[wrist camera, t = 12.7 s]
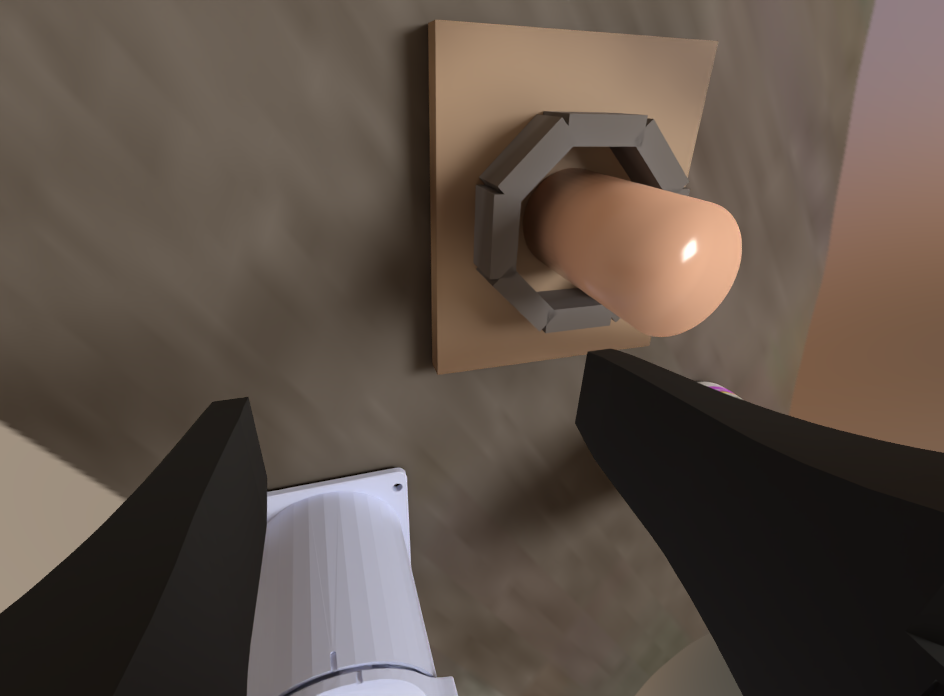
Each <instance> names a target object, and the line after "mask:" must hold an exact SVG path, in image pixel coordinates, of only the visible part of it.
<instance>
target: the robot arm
mask: <svg viewBox="0 0 944 696" xmlns="http://www.w3.org/2000/svg"><path fill="white" fill-rule="evenodd" d="M575 424H576V426H577V428H578V430H579V431H580V433H581V435H582V437H583V439H584V441H585V443H586V445H587V447H588V448H589V450H590V452H591V454H592V455H593V457H594V459H595V460H596V462H597V463H598V465H599V466H600V467H601V469H602V470H603V471H604V473H605V474H606V476H607V477H608V478H609V480H610V481H611V482H612V484H613V485H614V486H615V488H616V489H617V490H618V492H619V493H620V494H621V496H622V497H623V498H624V500H625V501H626V502H627V504H628V505H629V506H630V508H631V509H632V510H633V512H634V513H635V514H636V516H637V517H638V518H639V520H640V521H641V522H642V524H643V525H644V526H645V528H646V529H647V530H648V532H649V533H650V535H651V536H652V537H653V539H654V540H655V542H656V543H657V544H658V546H659V547H660V549H661V550H662V552H663V553H664V555H665V556H666V558H667V559H668V561H669V563H670V564H671V566H672V568H673V569H674V571H675V573H676V574H677V576H678V578H679V579H680V581H681V583H682V584H683V586H684V588H685V589H686V591H687V593H688V594H689V596H690V598H691V599H692V601H693V603H694V605H695V607H696V608H697V610H698V612H699V614H700V616H701V617H702V619H703V621H704V623H705V624H706V626H707V628H708V630H709V632H710V633H711V635H712V637H713V639H714V640H715V642H716V644H717V646H718V648H719V650H720V652H721V654H722V656H723V658H724V659H725V661H726V663H727V665H728V667H729V669H730V671H731V673H732V675H733V677H734V679H735V681H736V683H737V685H738V687H739V689H740V690H741V692H742V694H743V696H944V453H942V452H936V451H931V450H925V449H920V448H914V447H910V446H905V445H900V444H895V443H891V442H885V441H881V440H877V439H873V438H869V437H865V436H860V435H856V434H852V433H848V432H844V431H840V430H836V429H833V428H829V427H825V426H822V425H818V424H814V423H811V422H807V421H805V420H801V419H798V418H794V417H791V416H788V415H785V414H782V413H778V412H775V411H772V410H769V409H766V408H763V407H761V406H758V405H755V404H752V403H750V402H747V401H744V400H741V399H739V398H736V397H733V396H731V395H728V394H725V393H723V392H720V391H718V390H715V389H713V388H710V387H708V386H705V385H703V384H700V383H698V382H695V381H693V380H691V379H688V378H686V377H683V376H681V375H679V374H676V373H674V372H671V371H669V370H667V369H664V368H662V367H659V366H657V365H655V364H652V363H650V362H647V361H645V360H642V359H640V358H637V357H635V356H632V355H630V354H627V353H624V352H621V351H618V350H614V349H611V348H610V349H603V350H595V351H588V352H587V357H586V363H585V369H584V375H583V380H582V386H581V392H580V398H579V403H578V409H577V415H576V421H575ZM395 484H400V485H398V486H394V485H395ZM0 696H458V694H457V690H456V686H455V682H454V679H453V677H452V676H448V677H437V676H436V671H435V667H434V663H433V659H432V654H431V650H430V646H429V642H428V637H427V633H426V629H425V625H424V621H423V616H422V612H421V608H420V604H419V599H418V595H417V591H416V587H415V582H414V578H413V574H412V570H411V556H410V534H409V513H408V492H407V476H406V473H405V470H403V469H402V468H392V469H386V470H381V471H376V472H370V473H365V474H360V475H355V476H349V477H344V478H339V479H334V480H328V481H323V482H318V483H312V484H307V485H302V486H297V487H291V488H286V489H281V490H276V491H270V492H267V475H266V471H265V466H264V462H263V458H262V454H261V449H260V445H259V441H258V436H257V432H256V428H255V424H254V419H253V415H252V411H251V406H250V402H249V398H248V397H245V398H237V399H230V400H223V401H215V402H212V403H211V404H210V406H209V407H208V408H207V409H206V410H205V411H204V412H203V413H202V415H201V416H200V417H199V418H198V419H197V421H196V422H195V423H194V424H193V425H192V427H191V428H190V429H189V430H188V431H187V433H186V434H185V435H184V436H183V437H182V439H181V440H180V441H179V442H178V443H177V444H176V446H175V447H174V448H173V449H172V450H171V452H170V453H169V454H168V455H167V456H166V457H165V458H164V459H163V461H162V462H161V463H160V464H159V465H158V466H157V467H156V468H155V470H154V471H153V472H152V473H151V474H150V475H149V476H148V478H147V479H146V480H145V481H144V482H143V483H142V484H141V485H140V486H139V487H138V488H137V490H136V491H135V492H134V493H133V494H132V495H131V496H130V497H129V498H128V499H127V500H126V501H125V502H124V503H123V504H122V505H121V506H120V507H119V508H118V509H117V510H116V511H115V512H114V513H113V514H112V515H111V516H110V518H108V519H107V521H106V522H104V523H103V524H102V526H100V527H99V528H98V530H96V531H95V532H94V533H93V534H92V535H91V536H90V537H89V538H88V539H87V540H86V541H85V542H83V543H82V544H81V545H80V546H79V547H78V548H77V549H76V550H75V551H74V552H73V553H71V554H70V555H69V556H68V557H67V558H66V559H65V560H64V561H63V562H61V563H60V564H59V565H58V566H57V567H56V568H55V569H53V570H52V571H51V572H50V573H49V574H48V575H46V576H45V577H44V578H43V579H42V580H41V581H40V582H39V583H37V584H36V585H35V586H34V587H33V588H32V589H30V590H29V591H28V592H27V593H25V594H24V595H23V596H22V597H21V598H19V599H18V600H17V601H16V602H14V603H13V604H12V605H10V606H9V607H8V608H7V609H5V610H4V611H3V612H2V613H0Z"/></svg>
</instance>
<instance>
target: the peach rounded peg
mask: <svg viewBox="0 0 944 696" xmlns="http://www.w3.org/2000/svg"><path fill="white" fill-rule="evenodd" d="M523 232H524V238H525V241H526V244H527V246H528V248H529V250H530V251H531V253H532V254H533V255H534V256H535V257H536V258H537V259H538V260H539V261H541V262H542V263H544V264H545V265H546V266H548V267H549V268H551V269H552V270H554V271H555V272H556V273H558V274H559V275H561V276H562V277H563V278H565V279H566V280H568V281H569V282H570V283H572V284H573V285H575V286H576V287H578V288H579V289H580V290H582V291H583V292H585V293H586V294H587V295H589V296H590V297H592V298H593V299H594V300H596V301H597V302H599V303H600V304H602V305H603V306H604V307H606V308H607V309H609V310H610V311H611V312H613V313H614V314H616V315H617V316H618V317H620V318H621V319H623V320H624V321H626V322H627V323H628V324H630V325H631V326H633V327H634V328H635V329H637V330H638V331H640V332H642V333H644V334H646V335H650V336H654V337H668V336H673V335H677V334H680V333H683V332H685V331H687V330H689V329H691V328H693V327H695V326H696V325H698V324H699V323H701V322H702V321H703V320H705V319H706V318H707V317H708V316H709V315H710V314H711V313H712V312H713V311H714V310H715V309H716V308H717V307H718V306H719V305H720V303H721V302H722V301H723V299H724V298H725V296H726V295H727V293H728V292H729V290H730V288H731V286H732V285H733V282H734V280H735V278H736V275H737V272H738V269H739V265H740V261H741V254H742V240H741V234H740V230H739V227H738V225H737V223H736V221H735V219H734V218H733V216H732V215H731V214H730V213H729V212H728V211H727V210H726V209H724V208H723V207H721V206H719V205H717V204H714V203H711V202H707V201H703V200H700V199H696V198H692V197H688V196H685V195H681V194H677V193H673V192H670V191H666V190H662V189H658V188H654V187H651V186H647V185H643V184H639V183H636V182H632V181H628V180H624V179H620V178H617V177H613V176H609V175H605V174H602V173H598V172H594V171H590V170H587V169H582V168H567V169H563V170H560V171H558V172H556V173H554V174H552V175H550V176H549V177H548V178H546V179H545V180H544V181H543V182H542V183H541V184H540V185H539V186H538V187H537V188H536V189H535V191H534V192H533V194H532V195H531V197H530V199H529V201H528V204H527V206H526V209H525V213H524V219H523Z"/></svg>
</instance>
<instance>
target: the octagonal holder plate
mask: <svg viewBox="0 0 944 696" xmlns="http://www.w3.org/2000/svg"><path fill="white" fill-rule="evenodd" d="M717 45H718V41H709V40H696V39H683V38H670V37H656V36H643V35H630V34H617V33H604V32H591V31H578V30H565V29H552V28H538V27H525V26H512V25H499V24H486V23H473V22H460V21H447V20H434V21H432V22H430V23H428V51H429V133H430V214H431V296H432V364H433V366H434V368H435V370H436V372H437V374H438V375H440V374H447V373H454V372H462V371H469V370H476V369H483V368H491V367H498V366H505V365H512V364H519V363H527V362H534V361H541V360H548V359H556V358H563V357H570V356H577V355H585V354H587V352H588V351H595V350H603V349H610V348H611V349H614V350H621V349H628V348H635V347H642V346H649V345H650V340H651V336H650V335H646V334H644V333H642V332H640V331H638V330H637V329H635V328H634V327H633V326H631V325H630V324H628V323H627V322H626V321H624V320H623V319H621V318H620V317H618V316H617V315H616V314H614V313H613V312H611V311H610V310H609V309H607V308H606V307H604V306H603V305H602V304H600V303H599V302H597V301H596V300H594V299H593V298H592V297H590V296H589V295H587V294H586V293H585V292H583V291H582V290H580V289H579V288H578V287H576V286H575V285H573V284H572V283H570V282H569V281H568V280H566V279H565V278H563V277H562V276H561V275H559V274H558V273H556V272H555V271H554V270H552V269H551V268H549V267H548V266H546V265H545V264H544V263H542V262H541V261H539V260H538V259H537V258H536V257H535V256H534V255H533V254H532V253H531V251H530V250H529V248H528V246H527V244H526V241H525V238H524V232H523V219H524V213H525V209H526V206H527V204H528V201H529V199H530V197H531V195H532V194H533V192H534V191H535V189H536V188H537V187H538V186H539V185H540V184H541V183H542V182H543V181H544V180H545V179H546V178H548V177H549V176H550V175H552V174H554V173H556V172H558V171H560V170H563V169H567V168H582V169H587V170H590V171H594V172H598V173H602V174H605V175H609V176H613V177H617V178H620V179H624V180H628V181H632V182H636V183H639V184H643V185H647V186H651V187H654V188H658V189H662V190H666V191H670V192H673V193H677V194H681V195H685V196H689V192H690V189H689V188H685V186H686V184H687V183H688V182H689V180H688V178H687V177H688V173H689V169H690V164H691V160H692V155H693V151H694V147H695V142H696V138H697V133H698V129H699V125H700V120H701V116H702V111H703V107H704V103H705V98H706V94H707V89H708V85H709V81H710V76H711V72H712V67H713V63H714V59H715V54H716V50H717Z"/></svg>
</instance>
